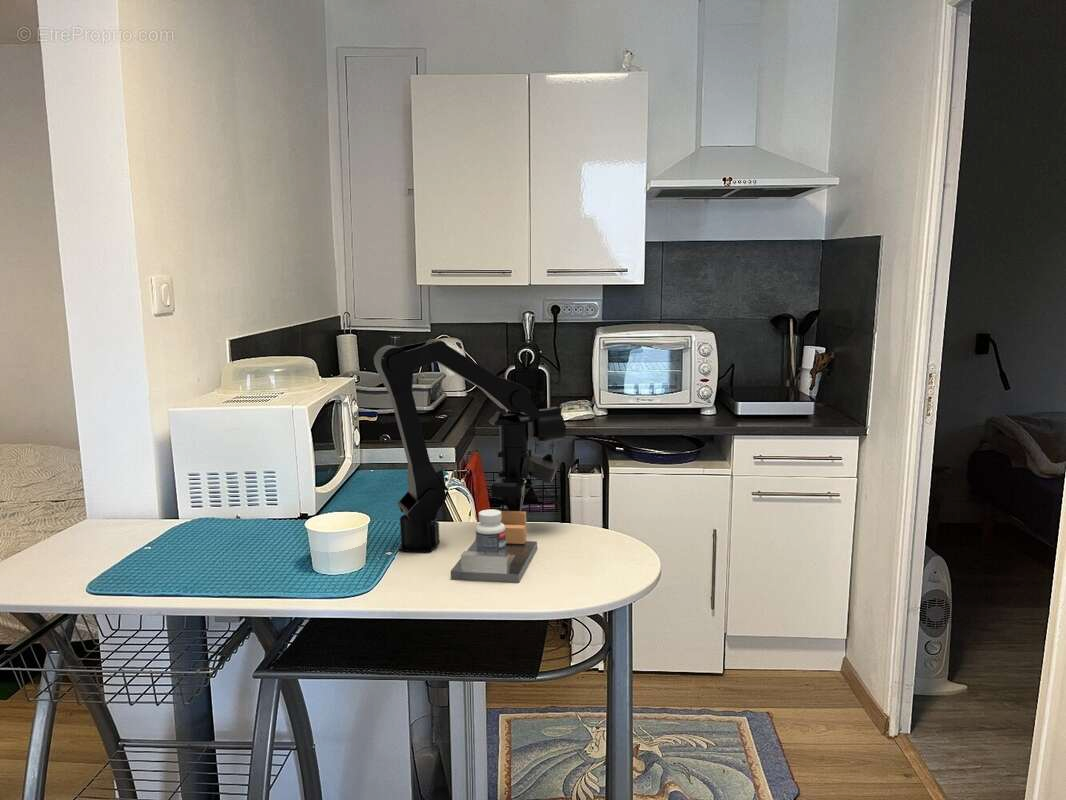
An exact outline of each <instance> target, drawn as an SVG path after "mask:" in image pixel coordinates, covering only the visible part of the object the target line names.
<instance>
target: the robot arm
mask: <svg viewBox="0 0 1066 800" xmlns="http://www.w3.org/2000/svg"><path fill="white" fill-rule="evenodd" d="M373 363H374V365H373V366H374V367H375V369H376V371H377V373H378V375H379V376H378V377H380V380H381V382H382V383H383V386H384V387H385V389H386V391H387V393H388V394H389V398H390V399H391V404H392V408H393V411H394V412H393V413H394V414H395V415H394V416H395V420H396V423H397V427H398V430H399V434H400V438H401V443H402V445H403V450H404V453H405V457H406V461H407V478H406V480H407V491H406V492H405V494H404V495H403V496H402V497H401V498H400V499H399V501H398V502H397V506H398V508H399V511H400V512H401V513H402V514H403V515H401V517H399V525H400V526H399V527H400V528H399V529H400V544H401V545H400V546H399V547H398V549H397V550H398V552H411V553H412V552H413V553H431V552H433V550H434V549H435V548H436V547H437V546H438V544H439V543H440V542H441V539H440V527H439V525H440V523H439V522H438V521H437V516H438V513H439V509H440V508H441V507H442V506H443V504H444V503H445V501H446V498H447V494H446V491H449V488H448V487H447V486H446V482H445V475H444V470H443V469H442V468H440V467H439V466H438V465H436V464H435V463H433V464H432V462H431V460H430V456H429V453H428V448H427V445H426V441H425V437H424V434H423V432H424V431H423V430H422V429H423V428H422V425H421V422H420V417H419V414H418V410H417V406H416V402H415V398H414V394H413V383H414V371H413V370H415V369H416V370H417V369H419V368H422V367H424V366H427V365H429V364H433V363H437V364H439V365H441V366H442V367H444V368H445V369H446V370H449V371H450V372H452V373H454V374H456V375H457V376H459V377H461V378H462V379H464V380H465V381H467V382H468V383H471V384H472V385H474V386H476V387H477V388H478V389H480V390H481V391H482V392H483V393H484V394H485V395H486V396H487V397H488V398H489V399H490V400H491V401H492V402H493V403H494V404H496V405H497V406H498V407H499V408H500V409H502V410H505V411H507V412H510V413H513V414H503V413H502V412H500V411H496V412H495V414H494V415H493V416H492V417H491V418H490V419H489V420H488V423H489V424H491V425H493V426H496V427H497V426H499V448H500V449H499V451H497V457H498V458H500V471H498V477H497V479H496V480H495V481H494V482H493V483H492V484H491V486H489V493H490V494H489V495H490V498H491V497H492V498H501V499H502V500H503V502H504V504H505V506H506V509H507V511H522V510H523V503H524V499H525V495H526V494H527V493H528V491H529V490H530V488H532V486H533V484H534V483H533V482H527V479H529V476H530V477H533V478H534V479H537V480H541V481H542V482H543V483H545V484H551V483H552V481H553V480H554V478H555V476H556V472H557V470H558V467H559V465H558V462H556V461H555V455H554V454H551V453H550V452H549V453H548V452H547V453H546V454H545V455H543V456H542V457H541V456H536V455H533V449H532V447H529V446H530V445H529V438H530V439H532V440H533V442H534V443H536V444H537V443H544V442H552V441H562V440H564V439H565V437H566V434H567V433H566V432H567V425H566V423H565V418H564V416H563V415H562V412H561V411H562V410H561V408H560V407H558V406H552V407H551V406H550V407H548V408H538V407H537V405H536V403H534V402H533V400H532V395H531V391H530V389H529V388H528V387H527V386H526V385H523V384H521V383H518V382H515V381H513V380H510V379H508V378H505V377H503V376H500V375H497V374H494V373H492V372H491V371H489V370H488V369H486V368H485V367H483V366H481V365H480V364H478V363H476V362H475V361H473V360H471V359H470V358H468V357H467V356H466V355H463V354H462V353H460V352H459V351H457V350H455V349H453V348H452V347H450V346H449V345H448V344H447V343H446V342H445V341H444V340H441V339H436V338H431V339H428V340H427V341H422V342H417V343H414V344H413V343H411V344H407V345H406V344H405V345H403V346H399V347H398V346H395V345H392V344H391V345H390V344H389V345H384V346H382V347H380V348H379V349H377V351H376V353H375V354H374V356H373ZM518 414H522V415H525V416H526V417H520V416H519V415H518Z"/></svg>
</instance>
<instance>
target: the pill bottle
mask: <svg viewBox="0 0 1066 800" xmlns="http://www.w3.org/2000/svg"><path fill="white" fill-rule="evenodd" d="M501 511H502V510H498V509H493V508H492V509H483V510H480V511H479V512H478V520H479V523H478V524H477V525H476V527H475V540H476V543H477V552H499V553H506V535H505V526H504V524H503V523H501V522H500V521H501V519H502V516H501Z"/></svg>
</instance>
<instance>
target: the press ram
mask: <svg viewBox="0 0 1066 800" xmlns="http://www.w3.org/2000/svg"><path fill="white" fill-rule="evenodd" d="M500 511H501V516H502V519H501V521H500V522H501V523H503V524H504V526H505V535H506V543H512V544H524V543H525V542H526V541H527V530H528V528H527V527H528V525H527V511H522V510H521V511H509V510H500Z"/></svg>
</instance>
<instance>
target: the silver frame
mask: <svg viewBox="0 0 1066 800" xmlns="http://www.w3.org/2000/svg"><path fill="white" fill-rule="evenodd" d="M537 550H538V541H536V540H535V541H532V540H526V542H525V543H524V544H512V543H506V553H499V552H477V543H476V539H474V541H473V542H472V543H471V545H470V546H469V547H468V548H467V550H464V551H463V552H462V553H461V555H460V558H459V560H458V561H457V562H456V564H454V566H453V568H451V570H450V580H451V581H453V580H454V581H469V582H470V581H475V582H490V583H491V582H495V583H512V584H513V583H514V584H515V583H516V584H519V583H520V582H521V580H522V578H523V577H524V574H525V572H526V571H527V569H528V567H529V565H530V563H531V561H532V560H533V557H534V556H535V554H536V552H537Z"/></svg>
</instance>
